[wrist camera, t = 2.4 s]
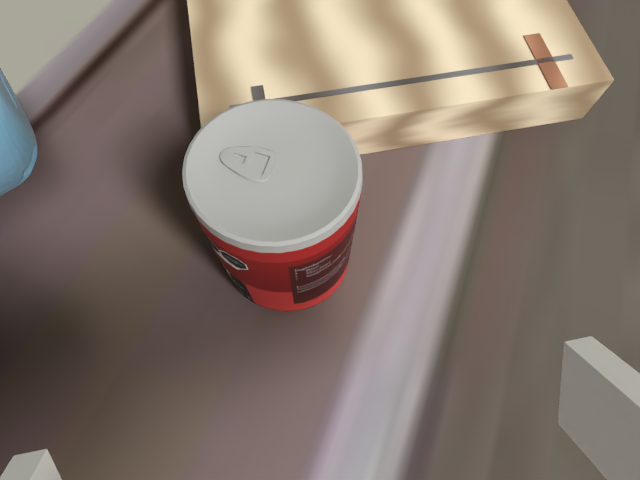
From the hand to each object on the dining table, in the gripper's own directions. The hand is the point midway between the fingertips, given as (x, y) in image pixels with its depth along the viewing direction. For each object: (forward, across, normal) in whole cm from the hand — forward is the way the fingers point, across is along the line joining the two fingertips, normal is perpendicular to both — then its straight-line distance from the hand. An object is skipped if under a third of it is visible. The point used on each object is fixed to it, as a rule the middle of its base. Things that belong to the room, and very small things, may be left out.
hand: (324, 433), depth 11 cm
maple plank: (+30, +10, +9) cm, 33 cm away
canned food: (+18, 0, -3) cm, 19 cm away
